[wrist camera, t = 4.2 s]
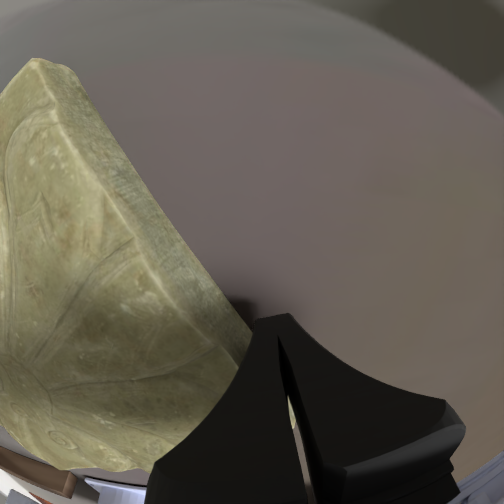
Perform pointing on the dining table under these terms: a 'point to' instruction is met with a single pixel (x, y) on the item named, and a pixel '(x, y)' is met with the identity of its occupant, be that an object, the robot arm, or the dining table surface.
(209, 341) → the decorative tile
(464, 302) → the dining table surface
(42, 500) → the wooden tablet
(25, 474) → the frame
